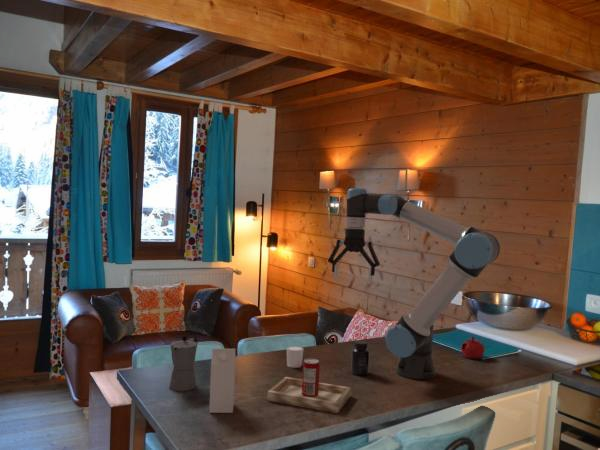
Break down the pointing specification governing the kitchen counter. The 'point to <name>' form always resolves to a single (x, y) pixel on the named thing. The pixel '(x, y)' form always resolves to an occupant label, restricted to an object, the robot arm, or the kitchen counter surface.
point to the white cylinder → (294, 356)
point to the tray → (327, 399)
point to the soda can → (310, 378)
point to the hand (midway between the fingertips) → (352, 282)
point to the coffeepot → (183, 364)
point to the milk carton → (222, 380)
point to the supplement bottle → (360, 359)
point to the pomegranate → (472, 349)
